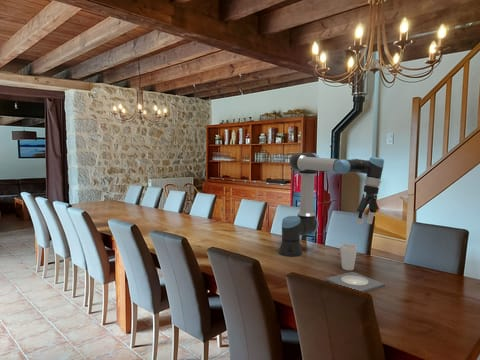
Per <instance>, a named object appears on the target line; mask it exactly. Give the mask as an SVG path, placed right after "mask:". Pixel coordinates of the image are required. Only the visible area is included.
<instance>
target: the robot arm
mask: <svg viewBox="0 0 480 360" xmlns="http://www.w3.org/2000/svg"><path fill="white" fill-rule="evenodd" d="M288 161H289V166H290V168H291V169H292V170H293V171H295V172H296V171H297V172H298V174H299V175H300V176H301V177H300V178H301V179H300V196H299V197H300V203H299V204H300V205H299V208H300V209H299V211H298V213H297V215H289V216H285V217H284V218H283V219H282V220H281V241H280V242H281V243H280V245H279V248H278V254H279V255H282V256H285V257H299V256H301V255H303V249H302V243H301V236H306V235H311V234H313V233H315V232H316V231H318V228H319V226H320V225H319V220H318V218H317V217H316V214H315V213H314V197H315V196H314V195H315V194H314V193H315V176H316V175H317V174H318V171H321V172H330V173H337V174H340V175H344V174H365V175H366V177H365V180H364V184H365V185H363V192H364V193H362V196H361V199H360V203H359V204H358V207H357V210H356V212H358V214H357V220H356V225H359V226H363V222H364V216H365V211H366V209H367V207H369V211H368V213H367V220H366V224H368V225H372V224H373V221H374V215H375V214H376V213H377V199H378V198H377V197H378V196H377V195H378V194H379V190H380V186H381V185H380V184H381V183H382V181H381V179H382V175H383V170H384V166H385V165H384V164H385V160H384V158H381V157H375V156H370V157H369V160H368V159H366V160H365V159H359V158H351V159H344V158H343V159H340V158H327V157H324V158H323V157H320V156H319V155H318V154H317V153H314V152H296V153H294V154H292V155H291V156H290V159H289V160H288Z"/></svg>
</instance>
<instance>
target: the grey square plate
mask: <svg viewBox="0 0 480 360" xmlns="http://www.w3.org/2000/svg"><path fill="white" fill-rule="evenodd" d="M325 281H327V282H329V283H331V284H333V283H335V284H338V285H342V286H346V287H349V288H352V289H356V290H359V291H362V293H366V292H368V291H372V290H376V289H379V288H382V287H385V286H386V285H385V283H383V282H380V281H378V280H375V279H372V278H370V277H367V276H365V275H363V274H360V273H357V272H355V271H350V272H346V273H345V272H344V273H341V274H338V275H334V276H330V277H326V278H325ZM335 284H334V285H335Z"/></svg>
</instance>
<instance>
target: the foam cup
mask: <svg viewBox="0 0 480 360" xmlns="http://www.w3.org/2000/svg"><path fill="white" fill-rule="evenodd" d="M339 251H340V261H341V268H342V269H343V270H345V271H353V270H354V269H355V264H356V258H357V253H358V245H356V244H351V243H342V244H341V243H340V245H339Z"/></svg>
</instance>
